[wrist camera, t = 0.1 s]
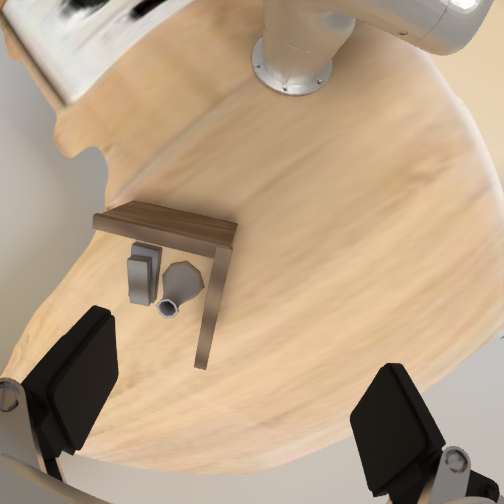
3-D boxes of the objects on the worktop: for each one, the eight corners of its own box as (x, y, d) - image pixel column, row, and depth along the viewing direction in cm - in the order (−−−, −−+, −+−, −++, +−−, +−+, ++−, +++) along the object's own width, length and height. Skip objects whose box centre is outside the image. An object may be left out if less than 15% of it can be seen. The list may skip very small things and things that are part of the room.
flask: (179, 304, 49) (163, 336, 40) (156, 272, 48) (134, 298, 38) (211, 288, 48) (201, 318, 39) (188, 253, 46) (171, 277, 37)
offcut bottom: (137, 240, 46) (131, 244, 44) (163, 247, 46) (158, 251, 44) (133, 290, 49) (128, 295, 47) (157, 297, 50) (153, 303, 47)
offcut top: (132, 254, 44) (126, 259, 42) (152, 257, 45) (146, 262, 42) (135, 296, 47) (130, 302, 45) (153, 299, 47) (148, 306, 45)
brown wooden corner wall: (133, 198, 43) (93, 214, 31) (239, 222, 44) (232, 247, 32) (125, 298, 49) (94, 335, 37) (216, 323, 50) (205, 370, 38)
